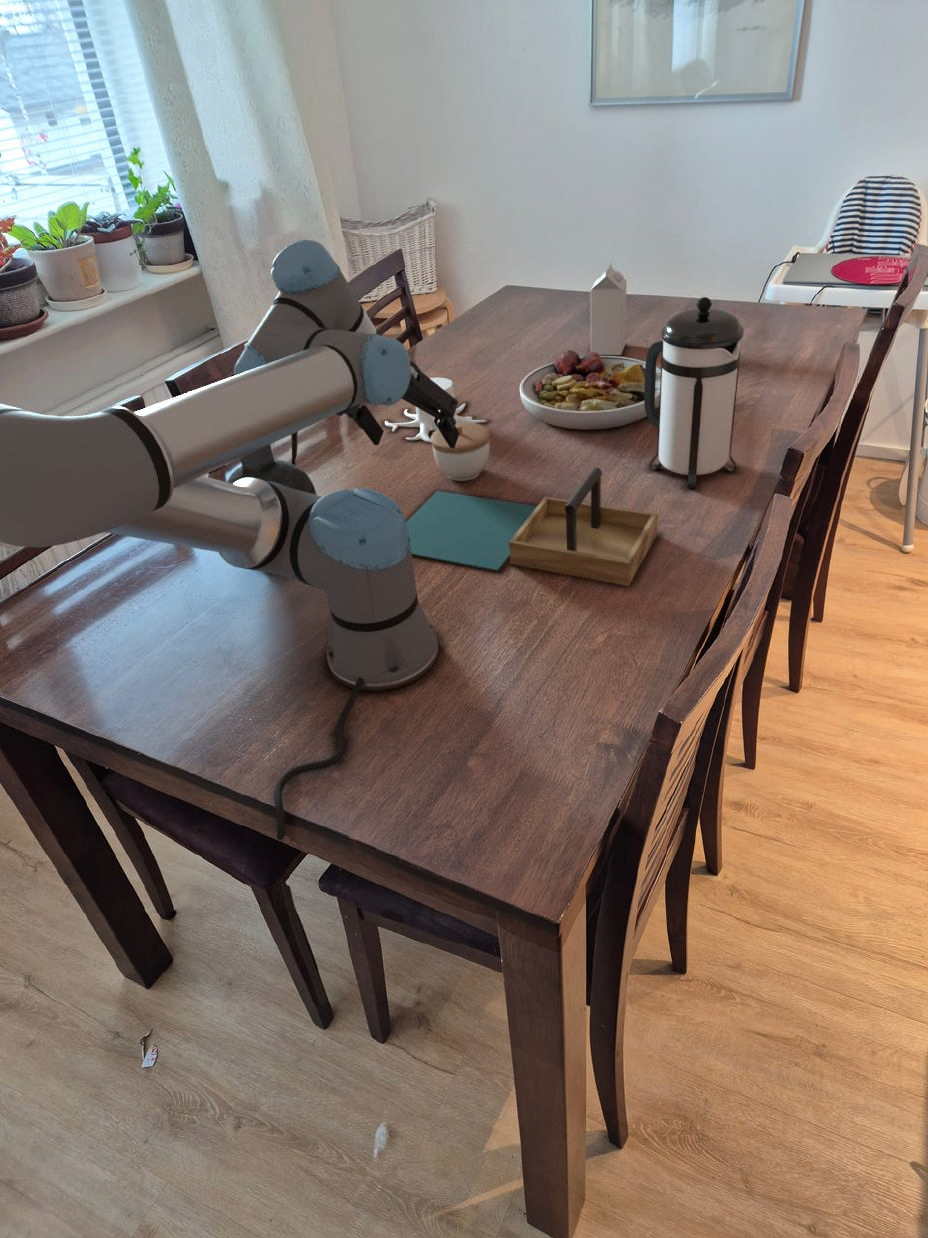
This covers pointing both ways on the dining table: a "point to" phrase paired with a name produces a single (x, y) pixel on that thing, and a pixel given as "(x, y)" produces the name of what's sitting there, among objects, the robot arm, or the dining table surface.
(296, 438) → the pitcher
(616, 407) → the bowl
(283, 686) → the dining table surface
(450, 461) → the white jar with lid
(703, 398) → the coffee press
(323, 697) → the dining table surface
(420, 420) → the tree stump
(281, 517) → the robot arm
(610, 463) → the dining table surface
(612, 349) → the milk carton
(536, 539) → the tray
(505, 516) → the mat
